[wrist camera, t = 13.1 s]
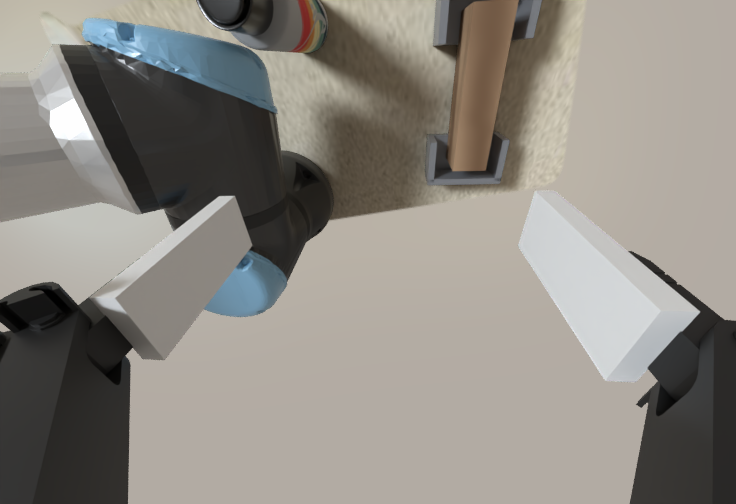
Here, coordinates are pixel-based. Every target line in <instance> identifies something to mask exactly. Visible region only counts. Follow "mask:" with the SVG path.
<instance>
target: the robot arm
mask: <svg viewBox="0 0 736 504" xmlns="http://www.w3.org/2000/svg"><path fill="white" fill-rule="evenodd" d="M83 29H84V30H83V32H82V36H83V37H84V39H85V41H87V42H89V43H90V44H91V45H59V44H52V46H51V47H50V49H49V51H48V52H47V54H46V55H45V57H44V58H43V60H42V61H41V63H40V64H39V66H38V67H37V68H36V69H34V70H33V71H31V72H30V73H0V222H4V221H9V220H14V219H19V218H24V217H29V216H34V215H39V214H44V213H49V212H54V211H59V210H64V209H69V208H74V207H79V206H84V205H89V204H94V203H99V202H102V203H107V204H112V205H114V206H117V207H119V208H122V209H124V210H127V211H129V212H132V213H135V214H143V213H147V212H151V211H156V210H160V209H164V211H165V213H166V215H167V217H168V219H169V222H170V224H171V227H172V229H173V231H174V232H173V233H171V234H170V235H169V236H167V237H166V238H165V239H164V240H162V241H161V242H160V243H158V244H157V245H156V246H155V247H153V248H152V249H151V250H150V251H148V252H147V253H146V254H145V255H143V256H142V257H140V258H139V259H137V260H136V261H135V262H134V263H132V264H131V265H130V266H128V267H127V268H126V269H125V270H123V271H122V272H121V273H119V274H118V275H117V276H116V277H115V278H113V279H112V280H110V281H109V282H108V283H106V284H105V285H104V286H103V287H101V288H100V289H99V290H97V291H96V292H95V293H94V294H92V295H91V296H90V297H89V298H87V299H86V300H85V301H83V302H82V303H81V304H80V305H77V304H76V303H75V302H74V300H72V298H71V297H70V296H69V295H68V294H67V293H66V292H65V291H64V290H63V289H62V288H61V287H60V285H59V284H56V283H54V282H48V283H40V284H36V285H32V286H29V287H26V288H23V289H21V290H18V291H16V292H14V293H12V294H10V295H8V296H6V297H4V298H3V299H1V300H0V322H1V323H2V324H3V325H5V326H6V327H7V328H8V329H10V330H11V331H7V332H1V331H0V504H128V466H129V465H128V463H129V413H130V411H129V410H130V362H129V360H128V359H127V358H126V356H125V355H126V354H127V353H128V352H129V351H130V350H131V349H132V348H134V350H135V351H136V352H137V353H138V354H139V355H140V356H141V358H142V359H153V360H165V359H166V358H167V356H168V355H169V353H170V352H171V351H172V350H173V348H174V347H175V346H176V344H177V343H178V342H179V341H180V339H181V338H182V337H183V335H184V334H185V333H186V331H187V330H188V329H189V328H190V326H191V325H192V324H193V322H194V321H195V320H196V318H197V317H198V316H199V314H200V313H201V312H202V311H203V309H205V310H207V311H210V312H213V313H216V314H220V315H226V316H234V317H248V316H254V315H258V314H260V313H263V312H264V311H266V310H267V309H269V308H271V307H272V306H273V305H274V303H275V302H276V301H277V299H278V298H279V296H280V295H281V293H282V292H283V291H284V289H285V288H286V285H287V281H288V279H289V277H290V275H291V273H292V271H293V268H294V266H295V264H296V262H297V260H298V258H299V256H300V254H301V252H302V250H303V247H304V245H305V243H306V242H307V241H308V240H310V239H311V238H313V237H314V236H316V235H317V234H319V233H320V232H321V231H322V230H323V228H324V227H325V226H326V224H327V222H328V221H329V218H330V216H331V213H332V210H333V193H332V189H331V186H330V184H329V182H328V180H327V178H326V177H325V175H324V174H323V172H322V171H321V170H320V169H319V168H318V167H317V166H316V165H315V164H314V163H313V162H311V161H310V160H308V159H307V158H305V157H303V156H301V155H299V154H296V153H293V152H289V151H281V147H280V139H279V132H278V125H277V118H276V114H278V113H277V109H276V107H275V106H274V103H273V98H272V93H271V88H270V83H269V78H268V73H267V69H266V67H265V65H264V63H263V62H262V60H261V59H260V58H259V57H258V56H257V55H256V54H255V53H254V52H252V51H251V50H249V49H247V48H245V47H242V46H239V45H236V44H232V43H229V42H225V41H221V40H217V39H213V38H208V37H204V36H199V35H195V34H190V33H185V32H180V31H175V30H170V29H164V28H159V27H153V26H147V25H140V24H139V25H135V24H132V23H124V22H117V21H114V20H109V19H100V18H88V19H86V20H85V21H84V22H83ZM518 247H519V248H520V250H521V252H522V253H523V255H524V256H525V257H526V259H527V261H528V262H529V264H530V265H531V267H532V268H533V270H534V272H535V273H536V275H537V276H538V278H539V279H540V281H541V282H542V284H543V286H544V287H545V289H546V290H547V292H548V293H549V295H550V296H551V298H552V299H553V301H554V302H555V304H556V305H557V307H558V309H559V310H560V312H561V313H562V315H563V316H564V318H565V320H566V321H567V322H568V324H569V325H570V327H571V329H572V330H573V332H574V333H575V335H576V336H577V338H578V340H579V341H580V343H581V344H582V346H583V347H584V349H585V350H586V352H587V353H588V355H589V356H590V358H591V360H592V361H593V363H594V364H595V366H596V367H597V369H598V370H599V372H600V373H601V375H602V377H603V378H604V380H605V381H620V382H636V381H637V380H638V379H639V378H640V377H641V376H642V375H643V374H644V373H645V371H646V370H647V369H649V370H650V372H651V373H652V374H653V375H654V376H655V378H656V379H657V380H658V382H657V383H656V384H655V385H654V386H653V387H652V388H651V389H650V390H649V391H648V392H647V393H646V394H645V395H644V396H643V397H642V398H641V399H640V400H639V401H638V403H637V404H636V405H638V406H639V407H643V405H644V404H646V403H648V409H647V414H646V420H645V425H644V430H643V436H642V441H641V446H640V452H639V457H638V463H637V468H636V473H635V479H634V484H633V489H632V495H631V500H630V504H736V321H731V320H724V319H723V318H721V317H720V316H719V315H718V314H716V313H715V312H714V311H713V310H711V309H710V308H709V307H708V306H706V305H705V304H704V303H703V302H701V301H700V300H699V299H697V298H696V297H695V296H693V295H692V294H691V293H690V292H689V291H687V290H686V289H685V288H684V287H682V286H681V285H677V282H676V281H675V280H674V279H672V278H671V277H670V276H669V275H665V272H664V271H662V270H661V269H659V267H657V266H656V265H655V264H654V263H652V262H651V261H649V260H647V259H646V258H644V257H642V256H640V255H638V254H636V253H634V252H632V251H627V250H626V249H625V248H623V247H622V246H621V245H620V244H619V243H617V242H616V241H615V240H614V239H613V238H611V237H610V236H609V235H608V234H607V233H605V232H604V231H603V230H602V229H600V228H599V227H598V226H597V225H596V224H595V223H593V222H592V221H591V220H590V219H589V218H587V217H586V216H585V215H584V214H582V213H581V212H580V211H579V210H578V209H577V208H575V207H574V206H573V205H572V204H571V203H569V202H568V201H567V200H566V199H565V198H563V197H562V196H561V195H560V194H559V193H557V192H556V191H554V190H552V191H535V193H534V196H533V200H532V203H531V206H530V209H529V212H528V216H527V219H526V222H525V225H524V228H523V232H522V235H521V238H520V241H519V244H518Z"/></svg>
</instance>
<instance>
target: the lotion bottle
mask: <svg viewBox="0 0 736 504" xmlns="http://www.w3.org/2000/svg"><path fill="white" fill-rule="evenodd" d="M196 1H197V3H198V6H199V8H200V10H201V11H202V13H203V14H204V16H205V17H206V18H207V20H208V21H209V22H210V23H212V24H213V25H214V26H216V27H217V28H219V29H222V30H225V31H230V32H231V33H232V35H233V36H234V37H235V38H236V39H237V40H239V41H240V42H241V43H243V44H244V45H246V46H248V47H250V48H253V49H257V50H264V51H280V52H298V53H310V52H313V51H316V50H317V49H319V48H320V47H321V46H322V45H323V43H324V41H325V39H326V37H327V33H328V19H327V15H326V11H325V9H324V7H323V5H322V4H321V2H320V1H319V0H196Z"/></svg>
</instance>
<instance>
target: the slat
mask: <svg viewBox="0 0 736 504" xmlns="http://www.w3.org/2000/svg"><path fill="white" fill-rule="evenodd" d="M518 1H519V0H489V1H477V2H473V3H472V4H470V5H469V6H467V7H466V8H465V9H463V10H462V11H461V20H460V30H459V39H458V48H457V58H456V67H455V76H454V86H453V95H452V104H451V114H450V123H449V132H448V142H447V151H446V159H447V161H448V163H449V165H450V167H451V169H452V171H486V166H487V161H488V156H489V151H490V146H491V140H492V135H493V130H494V125H495V120H496V115H497V109H498V104H499V99H500V94H501V89H502V84H503V79H504V73H505V68H506V63H507V58H508V53H509V48H510V42H511V37H512V32H513V27H514V22H515V17H516V12H517V6H518Z"/></svg>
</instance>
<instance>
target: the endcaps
mask: <svg viewBox="0 0 736 504" xmlns="http://www.w3.org/2000/svg"><path fill="white" fill-rule="evenodd" d="M477 1H489V0H436V9H435V24H434V39H433V46H442V45H456V44H458V39H459V30H460V20H461V11H462V10H463V9H465V8H466V7H467V6H469V5H470V4H472V3H473V2H477ZM541 3H542V0H519V1H518V6H517V12H516V17H515V22H514V27H513V32H512V37H511V41H515V40H522V39H529V38H533V37H534V33H535V29H536V24H537V20H538V16H539V11H540V7H541ZM447 142H448V134H427V146H426V161H425V177H426V181H427V185H466V184H500V181H501V176H502V172H503V168H504V163H505V159H506V155H507V150H508V146H509V142H510V140H509V139H507V138H506V137H505V136H503V135H502V134H500V133H499V132H493V135H492V140H491V146H490V151H489V156H488V161H487V166H486V171H452V169H451V167H450V165H449V163H448V161H447V159H446V151H447Z"/></svg>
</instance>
